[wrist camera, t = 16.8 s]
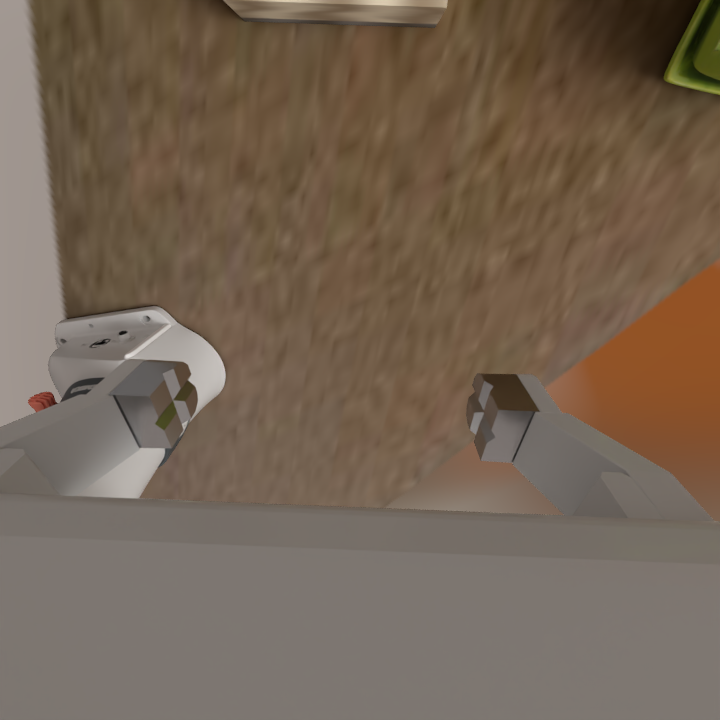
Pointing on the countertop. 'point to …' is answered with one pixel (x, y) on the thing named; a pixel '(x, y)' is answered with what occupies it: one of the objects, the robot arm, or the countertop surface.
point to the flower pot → (698, 51)
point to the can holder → (343, 11)
